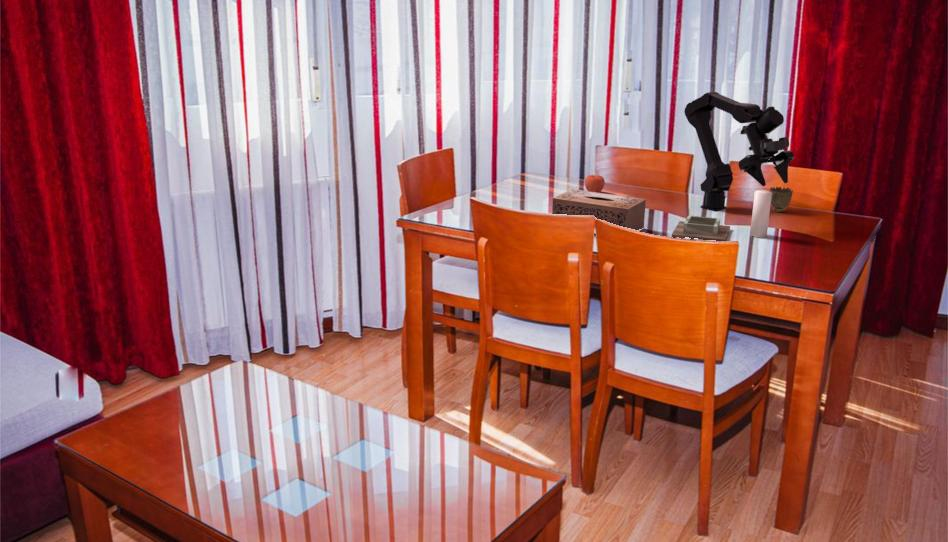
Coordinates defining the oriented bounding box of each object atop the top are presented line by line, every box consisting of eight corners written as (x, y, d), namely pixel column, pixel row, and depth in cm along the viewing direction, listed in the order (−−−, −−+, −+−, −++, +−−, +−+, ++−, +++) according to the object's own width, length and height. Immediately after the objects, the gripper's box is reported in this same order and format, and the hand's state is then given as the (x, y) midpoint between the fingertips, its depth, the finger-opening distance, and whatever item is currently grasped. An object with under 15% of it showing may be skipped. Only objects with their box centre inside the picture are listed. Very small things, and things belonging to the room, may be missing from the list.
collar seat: (679, 224, 275) (680, 212, 274) (729, 229, 269) (731, 217, 268) (671, 237, 261) (672, 224, 260) (724, 243, 255) (726, 230, 254)
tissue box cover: (643, 229, 271) (645, 199, 268) (626, 240, 259) (628, 209, 256) (571, 218, 284) (572, 189, 281) (551, 228, 272) (552, 198, 269)
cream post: (746, 235, 264) (751, 191, 259) (756, 232, 267) (760, 189, 262) (760, 238, 260) (765, 194, 255) (769, 235, 263) (775, 192, 258)
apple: (592, 190, 320) (593, 169, 318) (608, 193, 315) (609, 172, 312) (580, 193, 315) (581, 172, 313) (595, 196, 310) (596, 175, 308)
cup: (793, 214, 287) (796, 191, 285) (771, 214, 287) (774, 191, 285) (786, 208, 294) (788, 186, 292) (764, 208, 294) (767, 186, 292)
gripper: (752, 130, 260) (769, 176, 256) (797, 126, 268) (815, 170, 264) (730, 147, 270) (746, 191, 266) (774, 142, 277) (791, 185, 274)
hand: (775, 184), depth 267 cm, fingers open, 9 cm apart
